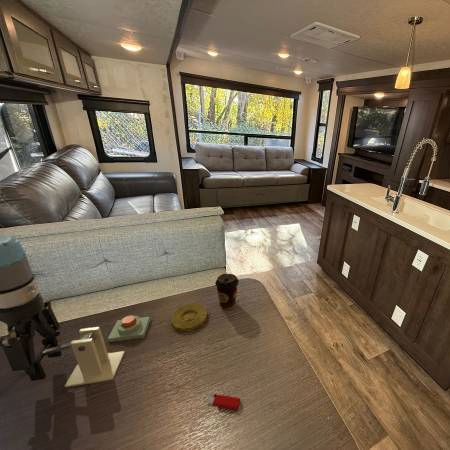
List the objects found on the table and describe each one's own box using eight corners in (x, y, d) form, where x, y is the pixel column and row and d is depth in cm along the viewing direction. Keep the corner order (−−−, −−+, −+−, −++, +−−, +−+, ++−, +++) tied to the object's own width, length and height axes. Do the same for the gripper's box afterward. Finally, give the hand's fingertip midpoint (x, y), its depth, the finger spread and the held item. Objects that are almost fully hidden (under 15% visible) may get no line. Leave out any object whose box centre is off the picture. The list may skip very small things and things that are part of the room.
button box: (108, 343, 79) (106, 334, 78) (118, 324, 86) (116, 316, 85) (144, 339, 82) (142, 330, 80) (150, 321, 89) (149, 312, 87)
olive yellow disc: (171, 313, 93) (171, 308, 92) (205, 305, 98) (204, 301, 97) (171, 337, 83) (170, 332, 83) (208, 327, 88) (208, 323, 88)
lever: (33, 367, 62) (27, 361, 61) (48, 347, 68) (43, 342, 67) (89, 350, 64) (84, 344, 63) (100, 332, 70) (95, 326, 69)
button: (120, 328, 81) (119, 324, 80) (125, 320, 84) (123, 315, 83) (133, 327, 81) (132, 322, 81) (137, 319, 85) (136, 314, 84)
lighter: (236, 408, 64) (207, 403, 64) (236, 411, 64) (207, 406, 65) (240, 397, 67) (211, 392, 67) (240, 400, 67) (212, 395, 68)
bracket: (65, 389, 66) (49, 352, 60) (83, 359, 74) (70, 324, 68) (113, 381, 69) (101, 345, 63) (125, 353, 77) (116, 319, 71)
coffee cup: (225, 315, 95) (224, 287, 90) (212, 305, 99) (210, 278, 94) (242, 303, 101) (242, 277, 96) (229, 294, 106) (229, 269, 100)
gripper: (5, 328, 50) (41, 400, 59) (61, 274, 67) (82, 336, 76) (-44, 333, 48) (1, 406, 57) (26, 276, 65) (52, 340, 74)
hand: (47, 366), depth 67 cm, fingers closed on lever, 6 cm apart
